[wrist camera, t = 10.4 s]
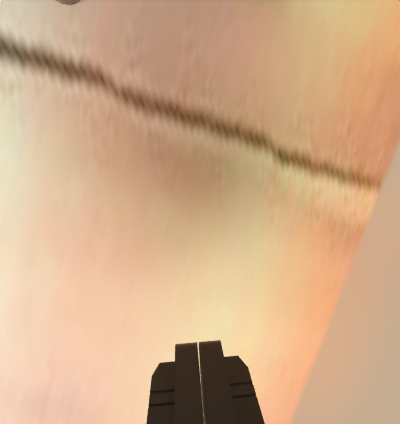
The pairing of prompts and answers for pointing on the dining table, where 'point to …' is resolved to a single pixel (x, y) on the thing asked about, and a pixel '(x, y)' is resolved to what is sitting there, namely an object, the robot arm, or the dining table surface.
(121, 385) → the dining table surface
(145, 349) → the dining table surface
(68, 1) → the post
